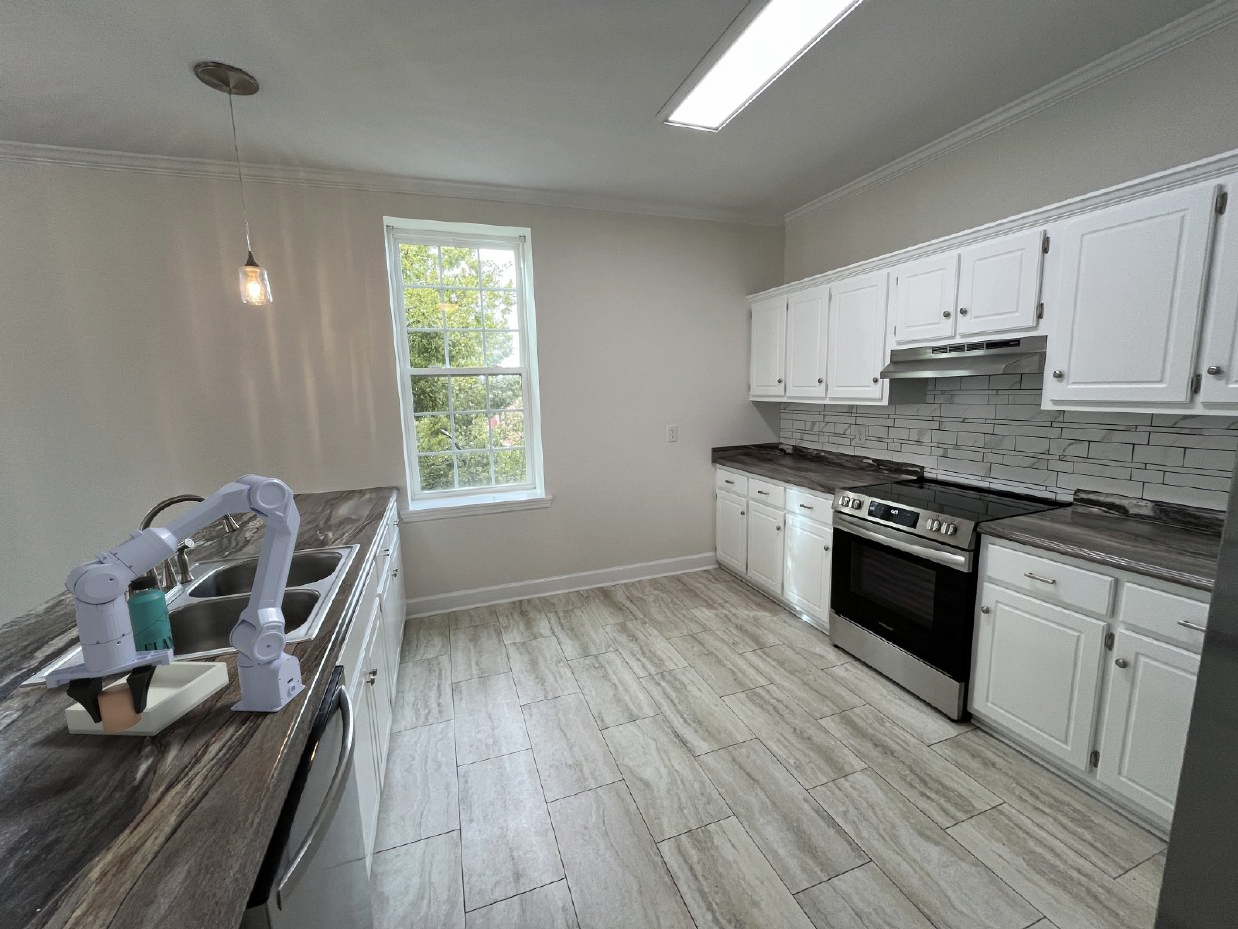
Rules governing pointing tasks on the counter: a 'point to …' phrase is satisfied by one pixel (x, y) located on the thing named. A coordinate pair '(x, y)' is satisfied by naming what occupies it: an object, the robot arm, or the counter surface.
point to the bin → (161, 698)
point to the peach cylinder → (117, 708)
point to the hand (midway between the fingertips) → (121, 714)
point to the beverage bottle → (149, 616)
